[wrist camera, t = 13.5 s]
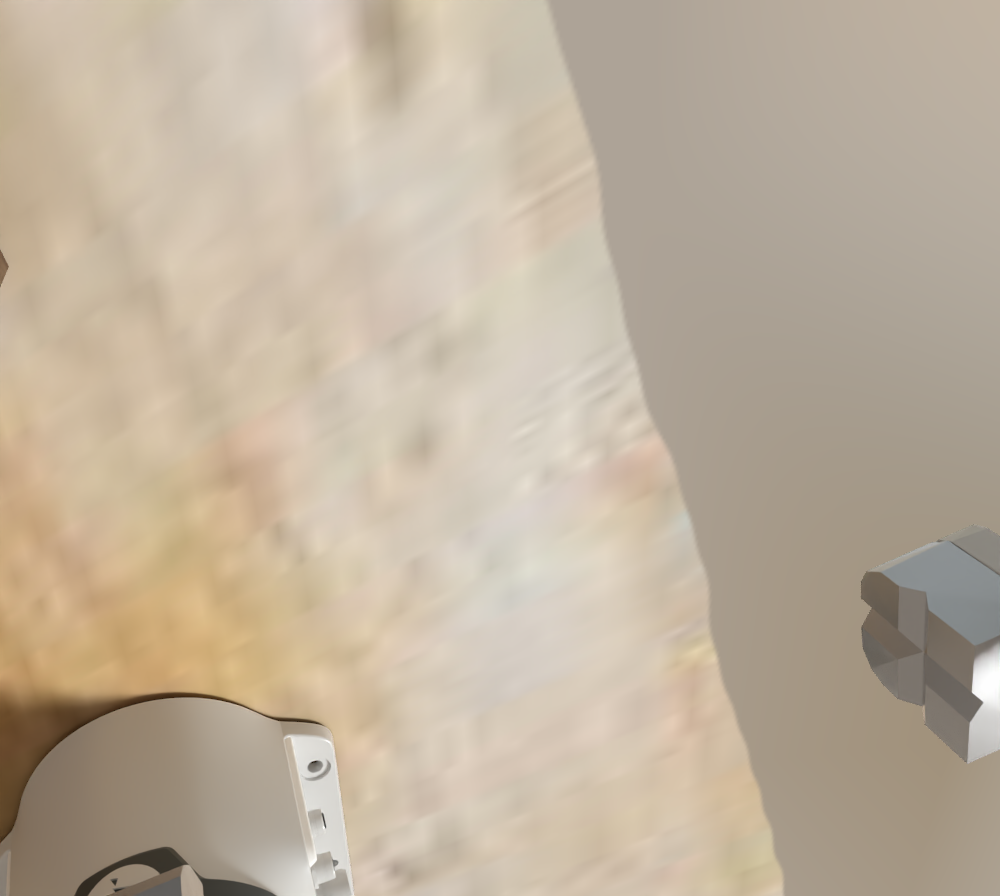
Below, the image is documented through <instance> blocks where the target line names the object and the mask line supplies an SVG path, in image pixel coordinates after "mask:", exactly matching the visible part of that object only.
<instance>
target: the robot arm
mask: <svg viewBox="0 0 1000 896" xmlns="http://www.w3.org/2000/svg"><path fill="white" fill-rule="evenodd" d="M861 599H863V600H864V601H865V602H866V603H867V604H868V605H870V606H871V607H872V609H871V610H870V612H869V614H868V616H867V618H866V620H865V621H864V623H863V625H862V642H863V650H864V652H865V654H866V657H867V659H868V661H869V664H870V666H871V668H872V670H873V672H874V673H875V674H876V676H877V677H878V678H879V680H880V681H881V683H882V684H883V685H884V686H885V687H886V688H887V689H888V690H889V691H890V692H891V693H892V694H893V695H894V696H895V697H896V698H897V699H900V700H903V701H906V702H910V703H913V704H916V705H920V706H922V707H923V715H924V722H925V725H926V726H927V727H928V728H929V729H930V730H931V731H933V732H934V733H935V734H936V735H937V736H938V737H939V738H940V739H941V740H942V741H943V742H944V743H945V744H946V745H948V746H949V747H950V748H951V749H952V750H953V751H954V752H955V753H956V754H957V755H958V756H959V757H960V758H962V759H963V760H964V761H965V762H966V763H967V764H968V763H970V762H972V761H975V760H977V759H979V758H981V757H983V756H986V755H988V754H990V753H992V752H995V751H997V750H999V749H1000V536H999V535H998V534H996V533H995V532H993V531H991V530H990V529H988V528H986V527H983V526H978V525H971V526H969V527H966V528H964V529H962V530H960V531H957V532H955V533H953V534H950V535H948V536H946V537H944V538H941V539H939V540H937V541H936V542H932V543H929V544H927V545H925V546H922V547H920V548H918V549H916V550H913V551H911V552H909V553H907V554H904V555H902V556H900V557H898V558H896V559H893V560H891V561H889V562H887V563H884V564H882V565H880V566H877V567H875V568H873V569H871V570H868V571H867V572H866V573H865V575H864V577H863V579H862V581H861ZM316 760H317V762H315V763H311V762H312V761H316ZM0 896H354V887H353V879H352V872H351V864H350V857H349V850H348V843H347V835H346V828H345V821H344V814H343V806H342V799H341V792H340V785H339V777H338V770H337V763H336V756H335V748H334V741H333V736H332V733H331V731H330V730H329V729H328V728H326V727H325V726H322V725H319V724H314V723H305V722H283V721H277V720H273V719H270V718H267V717H265V716H263V715H260V714H258V713H256V712H254V711H251V710H249V709H247V708H244V707H242V706H239V705H236V704H232V703H229V702H224V701H220V700H213V699H206V698H168V699H160V700H153V701H148V702H143V703H139V704H135V705H131V706H128V707H125V708H122V709H119V710H116V711H113V712H111V713H108V714H106V715H104V716H101V717H99V718H97V719H95V720H93V721H91V722H90V723H88V724H86V725H84V726H82V727H81V728H79V729H78V730H76V731H75V732H73V733H72V734H70V735H69V736H68V737H66V738H65V739H64V740H62V741H61V742H60V743H59V744H58V745H57V746H55V747H54V748H53V749H52V750H51V751H50V752H49V753H48V754H47V755H46V757H45V758H44V759H43V760H42V761H41V762H40V764H39V765H38V766H37V768H36V769H35V771H34V772H33V774H32V775H31V777H30V779H29V781H28V783H27V785H26V787H25V789H24V792H23V795H22V798H21V802H20V807H19V811H18V815H17V819H16V822H15V825H14V827H13V829H12V831H11V832H10V833H9V834H8V835H7V836H6V838H5V839H4V840H3V841H2V842H1V843H0Z"/></svg>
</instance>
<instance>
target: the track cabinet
mask: <svg viewBox="0 0 1000 896" xmlns="http://www.w3.org/2000/svg"><path fill="white" fill-rule="evenodd" d="M8 267H9V266H8V264H7V262H6V260H5V258H4V256H3V254H2V252H1V250H0V286H1V284H2V281H3V279H4V277H5V274H6V272H7V270H8Z"/></svg>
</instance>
